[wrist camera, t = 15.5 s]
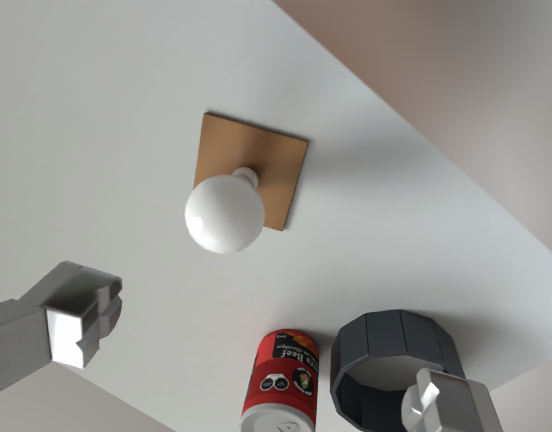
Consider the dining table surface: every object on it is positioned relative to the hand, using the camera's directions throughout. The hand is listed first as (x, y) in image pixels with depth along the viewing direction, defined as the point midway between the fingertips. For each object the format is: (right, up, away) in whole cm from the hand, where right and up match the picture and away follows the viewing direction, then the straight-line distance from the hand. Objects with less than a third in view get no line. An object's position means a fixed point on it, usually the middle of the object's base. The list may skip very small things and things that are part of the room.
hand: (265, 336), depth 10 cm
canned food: (+2, -14, +39) cm, 41 cm away
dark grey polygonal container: (+14, -14, +36) cm, 41 cm away
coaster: (-3, +7, +28) cm, 29 cm away
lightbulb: (-3, +7, +28) cm, 29 cm away
